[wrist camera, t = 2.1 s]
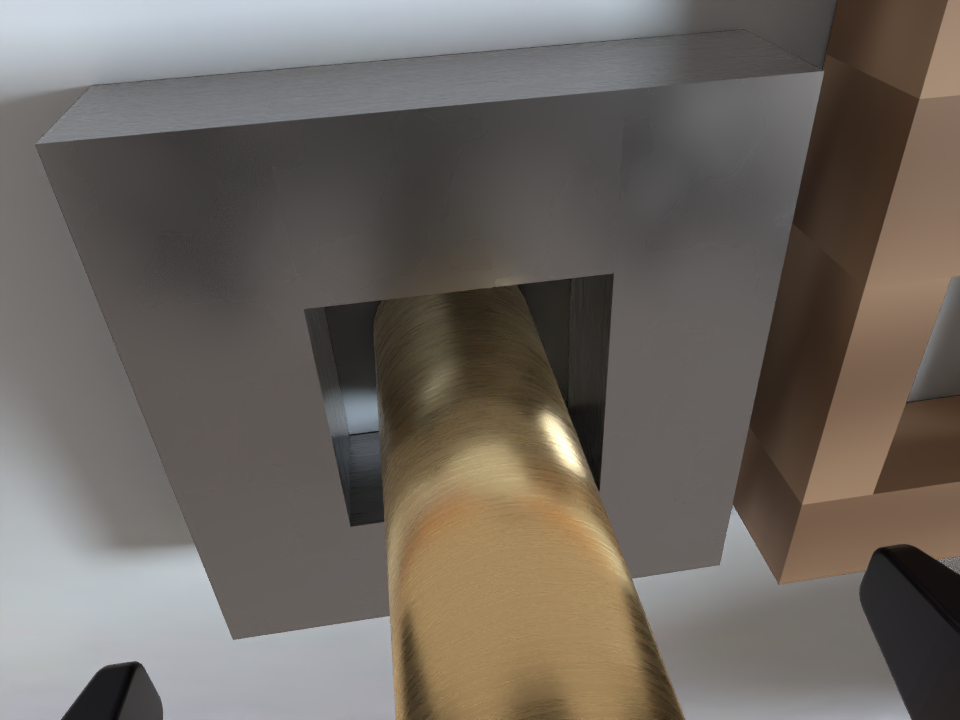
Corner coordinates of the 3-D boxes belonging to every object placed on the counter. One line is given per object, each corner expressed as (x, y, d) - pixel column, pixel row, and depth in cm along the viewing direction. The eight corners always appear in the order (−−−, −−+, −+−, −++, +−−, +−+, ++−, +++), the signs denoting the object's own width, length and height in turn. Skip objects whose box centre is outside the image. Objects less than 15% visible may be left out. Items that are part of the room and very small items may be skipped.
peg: (529, 381, 15) (694, 873, 8) (383, 400, 15) (420, 926, 8) (528, 250, 14) (737, 729, 6) (363, 269, 13) (386, 789, 6)
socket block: (677, 481, 18) (719, 565, 16) (246, 542, 17) (233, 639, 15) (743, 29, 12) (824, 71, 10) (91, 85, 11) (34, 144, 9)
